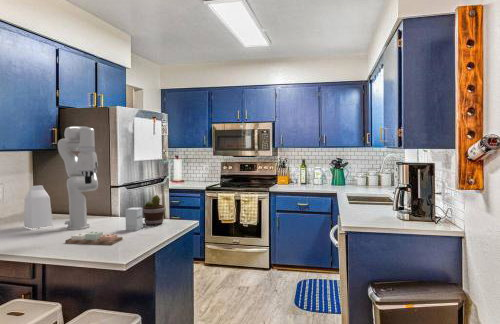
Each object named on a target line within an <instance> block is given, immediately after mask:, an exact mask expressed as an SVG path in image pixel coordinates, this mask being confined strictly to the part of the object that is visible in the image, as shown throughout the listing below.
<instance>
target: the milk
mask: <svg viewBox="0 0 500 324" xmlns="http://www.w3.org/2000/svg"><path fill="white" fill-rule="evenodd" d="M23 205H24V209H23V217H24V218H23V227H24V226H25V227H28V228H32V229H33V228H40V227H47V226H53V227H54V224H53V214H52V207H51V206H52V205H51V197H50V195H49V194H48V192H47V191H46V190H45V188H44V186H43V184H42V185H31V186H30V188H29V190H28V192H27V193H26V195H25V197H24V204H23Z"/></svg>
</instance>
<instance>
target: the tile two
mask: <svg viewBox="0 0 500 324" xmlns="http://www.w3.org/2000/svg"><path fill="white" fill-rule="evenodd" d="M102 235H104V231H90V232H87V234H85V240H98V239H100V236H102Z"/></svg>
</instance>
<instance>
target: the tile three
mask: <svg viewBox="0 0 500 324" xmlns="http://www.w3.org/2000/svg"><path fill="white" fill-rule="evenodd" d="M117 237H118V234H117V233H105V234H103V235H102V236H100V241H112V240H114V239H116V238H117Z"/></svg>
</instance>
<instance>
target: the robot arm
mask: <svg viewBox="0 0 500 324" xmlns="http://www.w3.org/2000/svg"><path fill="white" fill-rule="evenodd" d="M63 133H64V138H61V139H59V140H58V142H57V150H58V154H59V156H60V157H61V159H62V160H63V162H64V167H65V172H66V174H67V176H68V177H69V178H68V179H67V180H66V188H67V193H68V207H69V208H68V210H69V212H68V213H69V218H68V219H69V220H65V221H64V225H67V226H66V229H67V230H70V231H74V230H75V231H77V230H84V229H89V228H90V224H89V223H88V222H87V221H88V218H87V217H88V215H87V211H88V210H87V198H86V196H85V195H84V194H83V192H93V191H96V190H97V189H98V188H99V182H98V176H97V173H98V168H99V162H98V155H97V152H96V148H95V144H96V143H95V129H94V128H92V127H89V126H83V125H82V126H78V125H77V126H76V125H73V126H72V125H71V126H68V127H66V128H65V130H64V132H63ZM74 152H78V154H77V155H76V154H75V153H74Z"/></svg>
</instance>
